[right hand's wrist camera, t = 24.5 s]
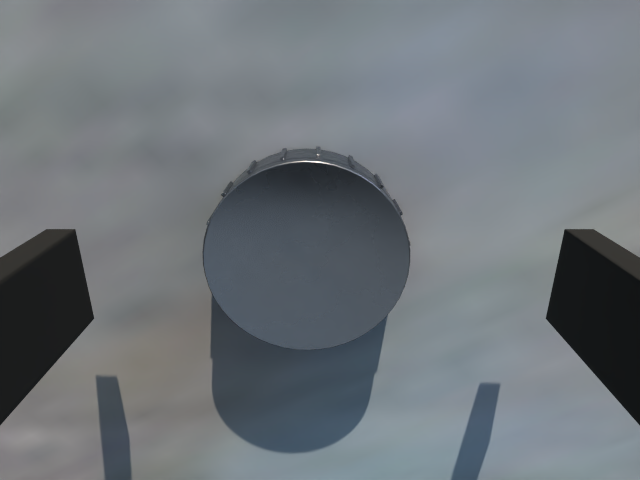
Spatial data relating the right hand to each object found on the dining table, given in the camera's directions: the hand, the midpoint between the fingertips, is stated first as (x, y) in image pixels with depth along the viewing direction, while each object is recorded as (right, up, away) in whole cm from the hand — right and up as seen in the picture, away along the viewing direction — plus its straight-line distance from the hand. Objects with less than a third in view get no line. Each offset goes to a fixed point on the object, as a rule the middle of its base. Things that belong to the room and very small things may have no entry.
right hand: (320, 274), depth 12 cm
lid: (0, 0, 0) cm, 1 cm away
